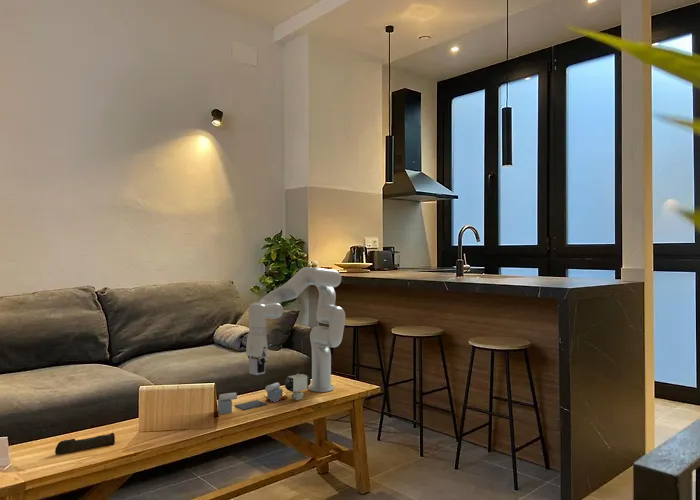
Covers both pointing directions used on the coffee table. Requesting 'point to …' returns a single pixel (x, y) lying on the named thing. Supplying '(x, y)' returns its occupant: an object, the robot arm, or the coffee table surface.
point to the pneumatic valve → (297, 385)
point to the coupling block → (254, 366)
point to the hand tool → (83, 443)
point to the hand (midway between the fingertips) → (257, 370)
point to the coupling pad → (250, 405)
